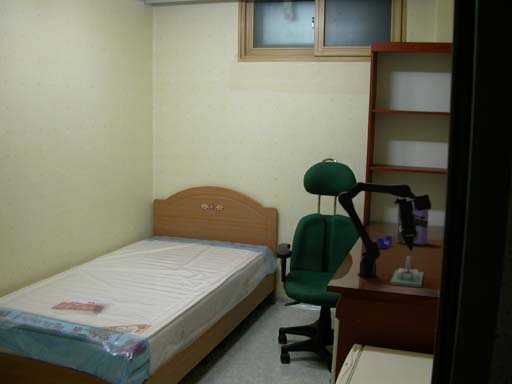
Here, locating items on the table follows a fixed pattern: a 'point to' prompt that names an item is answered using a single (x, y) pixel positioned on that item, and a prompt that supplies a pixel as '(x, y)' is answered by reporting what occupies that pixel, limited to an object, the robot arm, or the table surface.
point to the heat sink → (412, 275)
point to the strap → (408, 265)
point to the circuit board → (407, 280)
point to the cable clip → (384, 244)
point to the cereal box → (421, 232)
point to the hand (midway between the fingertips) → (411, 248)
